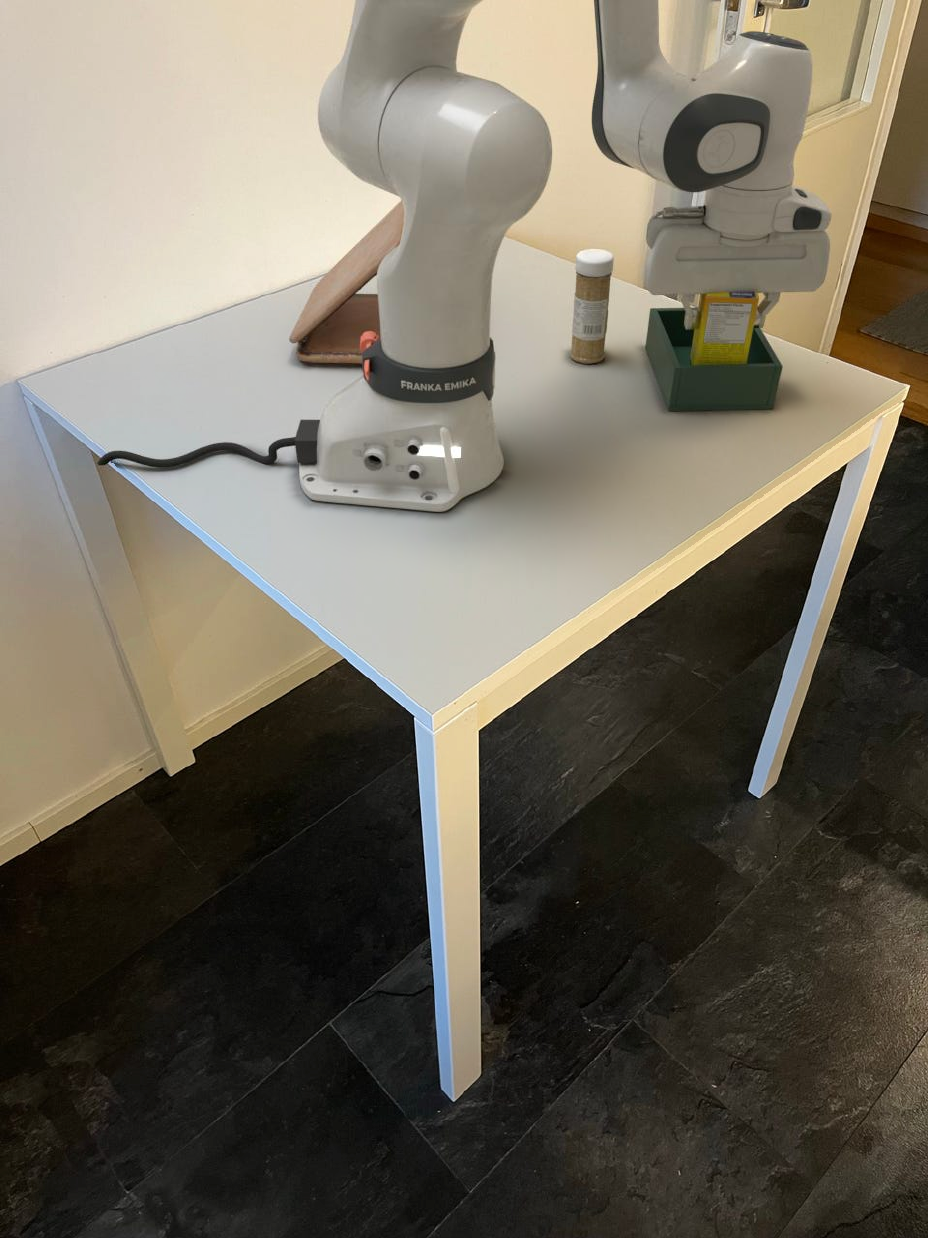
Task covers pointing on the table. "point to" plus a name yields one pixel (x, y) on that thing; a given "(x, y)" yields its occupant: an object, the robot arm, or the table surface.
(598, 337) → the sprinkles bottle
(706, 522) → the table surface
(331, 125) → the robot arm
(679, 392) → the box
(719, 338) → the supplement box
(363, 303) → the case
